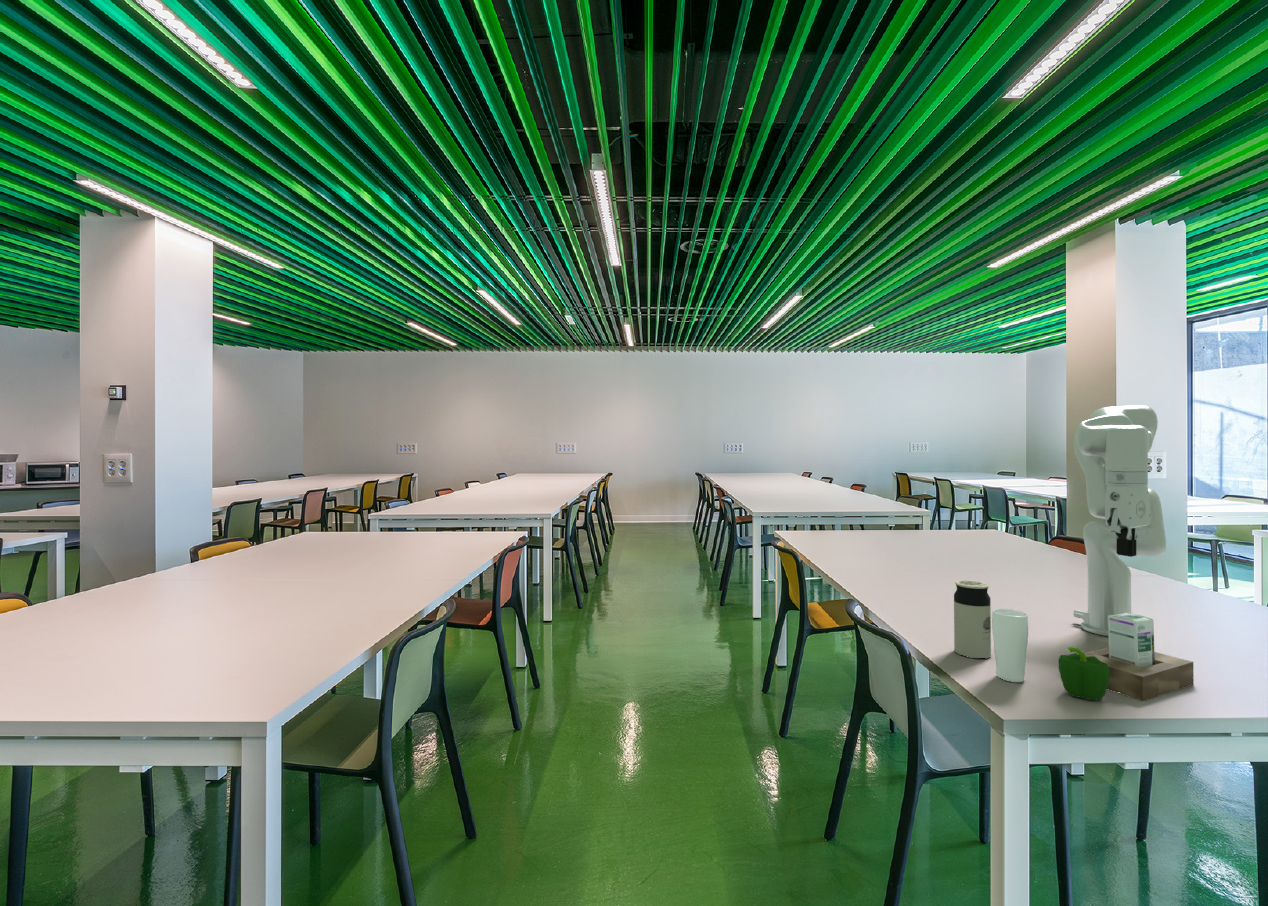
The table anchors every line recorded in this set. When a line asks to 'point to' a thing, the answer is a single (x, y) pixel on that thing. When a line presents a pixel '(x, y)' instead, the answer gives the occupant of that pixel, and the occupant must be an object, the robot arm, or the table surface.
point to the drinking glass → (1010, 643)
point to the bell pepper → (1083, 675)
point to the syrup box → (1131, 639)
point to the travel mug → (972, 619)
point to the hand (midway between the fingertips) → (1126, 555)
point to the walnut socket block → (1146, 675)
